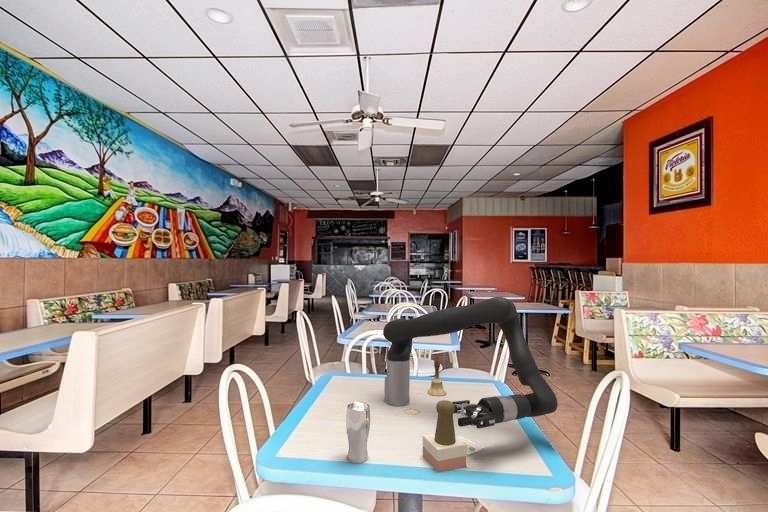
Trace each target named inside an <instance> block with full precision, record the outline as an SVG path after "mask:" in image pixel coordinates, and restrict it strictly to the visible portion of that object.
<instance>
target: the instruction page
mask: <svg viewBox="0 0 768 512" xmlns="http://www.w3.org/2000/svg"><path fill="white" fill-rule="evenodd" d="M457 437H458V438H459V439H460V440H461V441H462V442H464V443H465V444H466V456H468V457H469V456H472V455H473V454H476V453H478V452H480V451H483V450H485V448H484V447H483V446H481V445H478V444H477V443H474V442H473V441H470V440H469V439H467V438H464V437H463V436H461V435H458V436H457Z"/></svg>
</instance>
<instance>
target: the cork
mask: <svg viewBox="0 0 768 512" xmlns="http://www.w3.org/2000/svg"><path fill="white" fill-rule="evenodd" d="M452 402H453V401H450V400H445V399H443V400H439V401H438V402H437V403H436V405H435V406H436V407H435V408H436V412H437V419H436V424H435V425H436V426H435V433H434V434H435V439H434V440H435V442H436V443H438V444H440V445H445V446H449V445H453V444H455V443H456V439H455V436H456V431H455V430H456V429H455V424H454V423H455V422H454V421H455V420H454V414H453V413H454V411H455V407H454V404H453V403H452Z"/></svg>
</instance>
